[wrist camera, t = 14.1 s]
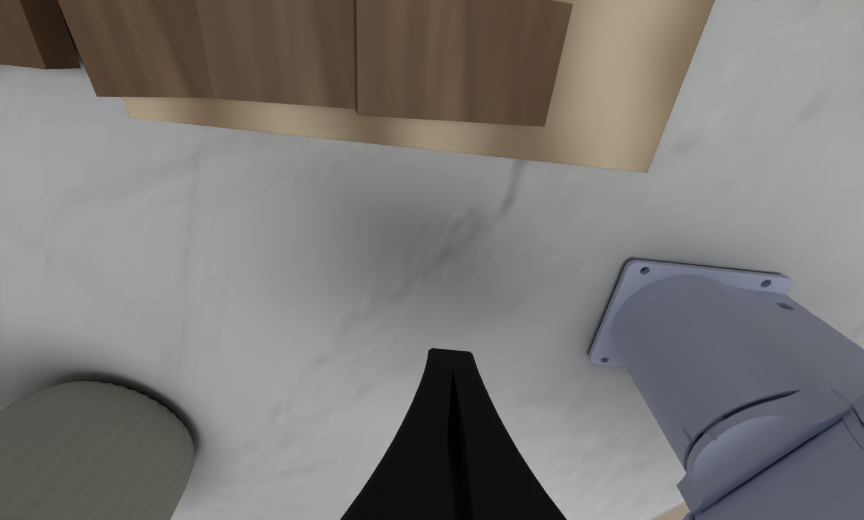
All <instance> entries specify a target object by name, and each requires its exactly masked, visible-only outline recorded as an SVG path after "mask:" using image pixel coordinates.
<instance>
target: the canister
mask: <svg viewBox="0 0 864 520" xmlns="http://www.w3.org/2000/svg"><path fill="white" fill-rule="evenodd" d="M193 463H194V444H193V442H192V437H191V435H190V434H189V433H188V429H187V428H186V427H185V426H184V425H183V423H182V421H181V420H180V419H178V418H177V417H176V416H175V414H174V413H172V412H170V411H169V410H168V409H167V407H165V406H162V405H161V404H159V403H158V402H157V401H156V400H152V399H150V398H149V397H148V396H147V395H143V394H140V393H138V392H137V391H135V390H130V389H127V388H126V387H124V386H117V385H114V384H112V383H103V382H100V381H93V382H91V381H78V382H76V381H73V382H67V383H62V384H58V385H54V386H50V387H48V388H45V389H42V390H40V391H38V392H35V393H33V394H31V395H29V396H27V397H25V398H23V399H21V400H19V401H17V402H16V403H14V404H12V405H10V406H9V407H7V408H5V409H4V410H2V411H1V412H0V520H170V519H171V517H172V515H173V513H174V511H175V509H176V507H177V505H178V502H179V500H180V498H181V496H182V494H183V492H184V490H185V487H186V485H187V483H188V480H189V477H190V474H191V471H192V467H193Z"/></svg>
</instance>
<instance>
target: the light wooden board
mask: <svg viewBox="0 0 864 520" xmlns="http://www.w3.org/2000/svg"><path fill="white" fill-rule="evenodd" d="M552 1H559V2H565V3H571V4H573V7H572V12H571V16H570V20H569V24H568V29H567V33H566V37H565V42H564V46H563V50H562V54H561V59H560V63H559V67H558V72H557V76H556V80H555V84H554V89H553V93H552V97H551V102H550V106H549V110H548V114H547V119H546V123H545V127H539V126H522V125H506V124H489V123H473V122H456V121H440V120H423V119H406V118H390V117H373V116H358V115H357V113H356V110H355V109H346V108H333V107H319V106H306V105H292V104H279V103H265V102H252V101H238V100H225V99H214V98H170V97H123V100H124V104H125V107H126V110H127V114H128V117H129V118H137V119H147V120H156V121H166V122H175V123H184V124H194V125H203V126H213V127H222V128H232V129H241V130H251V131H260V132H269V133H279V134H288V135H298V136H307V137H317V138H326V139H335V140H345V141H354V142H364V143H373V144H383V145H392V146H401V147H411V148H420V149H430V150H439V151H449V152H458V153H468V154H477V155H486V156H496V157H505V158H515V159H524V160H534V161H543V162H552V163H562V164H571V165H581V166H590V167H600V168H609V169H618V170H628V171H637V172H648V170H649V167H650V165H651V162H652V160H653V157H654V154H655V152H656V149H657V147H658V144H659V142H660V139H661V137H662V134H663V131H664V129H665V126H666V124H667V121H668V119H669V116H670V114H671V111H672V109H673V106H674V103H675V101H676V98H677V96H678V93H679V91H680V88H681V86H682V83H683V80H684V78H685V75H686V73H687V70H688V68H689V65H690V63H691V60H692V57H693V55H694V52H695V50H696V47H697V45H698V42H699V40H700V37H701V34H702V32H703V29H704V27H705V24H706V22H707V19H708V17H709V14H710V12H711V9H712V6H713V4H714V1H715V0H552Z"/></svg>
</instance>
